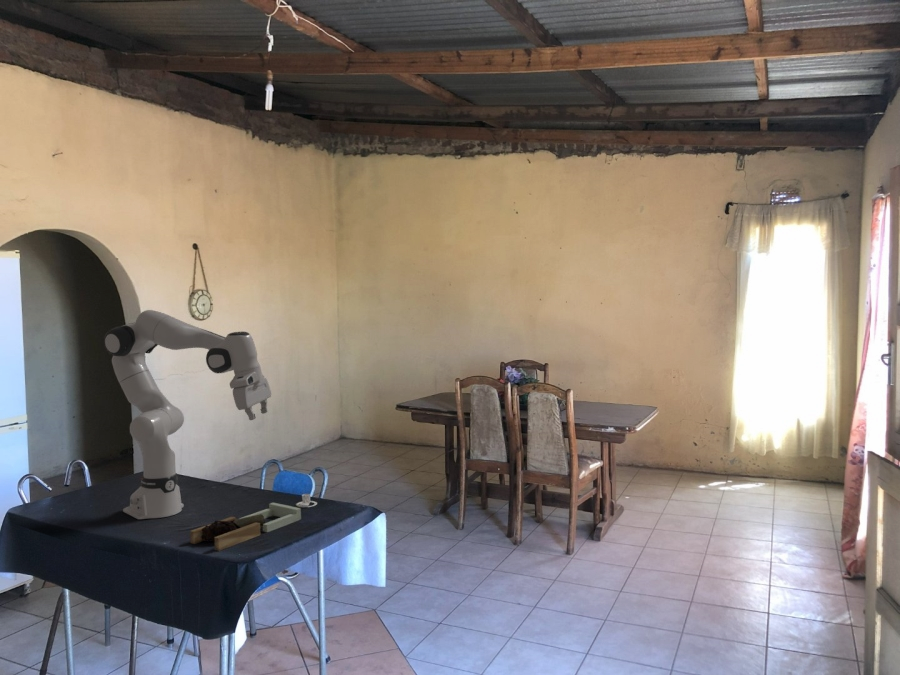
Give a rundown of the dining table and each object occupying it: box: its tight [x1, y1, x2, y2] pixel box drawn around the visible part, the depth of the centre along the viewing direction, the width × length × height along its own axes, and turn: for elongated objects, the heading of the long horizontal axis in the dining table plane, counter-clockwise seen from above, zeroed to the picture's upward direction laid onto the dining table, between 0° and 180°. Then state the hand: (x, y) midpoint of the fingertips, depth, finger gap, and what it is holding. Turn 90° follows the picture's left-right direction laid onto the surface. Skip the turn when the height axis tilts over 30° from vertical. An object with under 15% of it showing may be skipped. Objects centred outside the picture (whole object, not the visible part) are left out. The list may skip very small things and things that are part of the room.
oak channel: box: [189, 516, 261, 552], centre depth 229 cm, size 14×17×4 cm
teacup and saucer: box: [295, 493, 318, 508], centre depth 266 cm, size 9×8×4 cm
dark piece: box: [201, 514, 266, 542], centre depth 232 cm, size 21×8×7 cm, turn 134°
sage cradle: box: [238, 502, 302, 533], centre depth 246 cm, size 14×16×4 cm
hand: (258, 416), depth 239 cm, fingers open, 8 cm apart
